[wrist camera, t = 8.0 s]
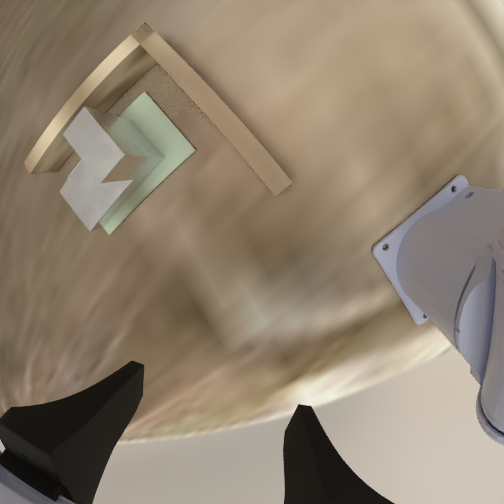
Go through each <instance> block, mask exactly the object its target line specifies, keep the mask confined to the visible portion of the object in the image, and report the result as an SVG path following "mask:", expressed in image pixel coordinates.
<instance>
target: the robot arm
mask: <svg viewBox="0 0 504 504" xmlns="http://www.w3.org/2000/svg"><path fill="white" fill-rule="evenodd" d="M452 186H453V187H454V191H453V192H452V191H451V187H452ZM384 244H387V248H386V249H384V250H383V248H382V247H383V245H384ZM372 253H373V255H374V257H375V258H376V260H377V261H378V263H379V264H380V266H381V267H382V269H383V270H384V272H385V274H386V275H387V277H388V278H389V280H390V282H391V283H392V285H393V286H394V288H395V290H396V291H397V293H398V294H399V296H400V298H401V299H402V301H403V303H404V304H405V306H406V308H407V310H408V311H409V313H410V315H411V316H412V318H413V320H414V322H415V323H416V324H417V325H421V324H423V323H424V322H426V321H427V320H428V319H430V320H431V321H432V323H433V324H434V325H435V326H436V327H437V328H438V329H439V330H440V331H441V332H442V334H443V335H444V336H445V337H446V338H447V339H448V340H449V341H450V343H451V344H452V345H453V346H454V347H455V348H456V349H457V351H458V352H459V353H460V354H461V355H462V356H463V357H464V359H465V360H466V361H467V362H468V363H469V364H470V367H471V370H470V373H471V374H472V375H473V377H474V378H475V379H476V380H477V382H478V383H479V384H480V385H481V386H480V389H479V392H478V396H477V401H476V413H477V418H478V420H479V423H480V425H481V427H482V428H483V430H484V431H485V432H486V434H487V435H488V436H489V437H491V438H492V439H493V440H495V441H496V442H498V443H500V444H502V445H504V190H499V189H493V188H486V187H479V186H472V185H469V184H468V182H467V180H466V178H465V177H464V176H463V175H457V176H456V177H455V178H454V179H453V180H452V181H450V182H449V183H448V184H447V185H446V186H445V187H444V188H443V189H441V190H440V191H439V192H438V193H437V194H436V195H435V196H433V197H432V198H431V199H430V200H429V201H428V202H427V203H425V204H424V205H423V206H422V207H421V208H420V209H418V210H417V211H416V212H415V213H414V214H412V215H411V216H410V217H409V218H408V219H406V220H405V221H404V222H403V223H402V224H400V225H399V226H398V227H397V228H395V229H394V230H393V231H392V232H391V233H389V234H388V235H387V236H386V237H384V238H383V239H382V240H381V241H379V242H378V243H377V244H376V245H375V246H374V247H373V249H372ZM424 314H425V316H424V317H423V315H424ZM143 379H144V365H143V364H140V363H137V362H135V361H131V362H129V363H128V364H126V365H125V366H123V367H122V368H120V369H119V370H117V371H116V372H114V373H113V374H111V375H110V376H108V377H106V378H105V379H103V380H102V381H100V382H98V383H96V384H95V385H93V386H91V387H89V388H87V389H85V390H83V391H81V392H79V393H76V394H74V395H71V396H69V397H66V398H63V399H60V400H56V401H53V402H49V403H44V404H39V405H33V406H23V407H11V408H10V409H9V410H7V411H6V412H5V414H4V415H3V416H2V417H1V418H0V439H1V441H2V443H3V445H4V447H5V450H4V452H3V453H2V452H1V451H0V504H92V503H93V499H94V496H95V493H96V490H97V488H98V485H99V482H100V480H101V477H102V474H103V472H104V469H105V467H106V465H107V462H108V460H109V458H110V455H111V453H112V451H113V449H114V447H115V445H116V443H117V442H118V440H119V438H120V437H121V435H122V434H123V432H124V430H125V429H126V427H127V425H128V424H129V422H130V420H131V419H132V417H133V415H134V414H135V412H136V410H137V408H138V405H139V403H140V401H141V398H142V396H143ZM283 457H284V477H285V498H284V504H394V503H392V502H391V501H389V500H388V499H386V498H385V497H383V496H381V495H380V494H378V493H377V492H376V491H375V490H373V489H372V488H371V487H369V486H368V485H367V484H366V483H365V482H364V481H363V480H361V479H360V478H359V477H358V476H357V475H356V474H355V473H354V472H353V471H352V470H351V468H350V467H349V466H348V465H347V464H346V463H345V461H343V459H342V458H341V456H340V455H339V454H338V452H337V451H336V449H335V448H334V446H333V445H332V443H331V441H330V440H329V438H328V436H327V435H326V433H325V431H324V430H323V428H322V426H321V424H320V422H319V420H318V418H317V416H316V414H315V413H314V411H313V409H312V407H311V406H306V405H300V404H298V406H297V408H296V410H295V412H294V414H293V416H292V418H291V420H290V422H289V424H288V427H287V428H286V430H285V435H284V447H283Z"/></svg>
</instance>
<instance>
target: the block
mask: <svg viewBox="0 0 504 504" xmlns="http://www.w3.org/2000/svg"><path fill="white" fill-rule="evenodd" d="M63 135H64V136H65V138H66V139H67V140H68V142H69V143H70V145H71V146H72V147H73V148H74V150H75V151H76V152H77V154H78V155H79V156H80V158H81V159H82V161H81V162H80V163H79V165H78V166H77V167H76V169H75V170H74V171H73V173H72V174H71V176H70V177H69V178H68V180H67V181H66V183H65V184H64V186H63V187H62V189H61V190H60V193H61V194H62V195H63V197H64V198H65V200H66V201H67V202H68V204H69V205H70V206H71V208H72V209H73V210H74V212H75V213H76V214H77V216H78V217H79V218H80V219H81V221H82V222H83V223H84V225H85V226H86V227H87V228H88V230H89V231H90V232H91V231H93V230H96V229H98V228H101V227H104V226H105V225H106V224H107V222H108V221H109V220H110V219H111V218H112V216H113V215H114V214H115V213H116V212H117V210H118V209H119V208H120V207H121V206H122V205H123V203H124V202H125V201H126V200H127V199H128V198H129V197H130V195H131V194H132V193H133V192H134V191H135V190H136V189H137V188H138V187H139V186H140V184H141V183H142V182H143V181H144V180H145V179H146V178H147V177H148V176H149V175H150V174H151V173H152V172H153V171H154V169H155V168H156V167H157V166H158V165H159V164H160V163H161V162H162V161H163V160H164V159H165V157H164V156H163V155H162V154H161V152H160V151H159V150H158V149H157V148H156V147H155V146H154V145H153V144H152V142H151V141H150V140H149V139H148V138H147V137H146V136H145V135H144V134H143V132H142V131H141V130H140V129H139V128H138V127H137V126H136V125H135V123H134V122H133V121H132V120H130V119H127V118H123V117H120V116H117V115H113V114H110V113H106V112H103V111H99V110H96V109H92V108H89V107H85V106H84V107H83V109H82V110H81V111H80V112H79V114H78V115H77V116H76V117H75V119H74V120H73V121H72V123H71V124H70V125H69V127H68V128H67V129H66V131H65V132H64V133H63Z"/></svg>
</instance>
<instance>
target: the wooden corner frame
mask: <svg viewBox="0 0 504 504" xmlns="http://www.w3.org/2000/svg"><path fill="white" fill-rule="evenodd" d="M157 62H158V63H159V64H160V65H161V67H162V68H163V69H164V70H165V71H166V72H167V73H168V74H169V75H170V76H171V77H172V78H173V79H174V80H175V81H176V82H177V84H178V85H179V86H180V87H181V88H182V89H183V90H184V91H185V92H186V93H187V94H188V95H189V97H190V98H191V99H192V100H193V101H194V102H195V103H196V104H197V105H198V106H199V108H200V109H201V110H202V111H203V112H204V113H205V114H206V115H207V116H208V118H209V119H210V120H211V121H212V122H213V123H214V124H215V125H216V127H217V128H218V129H219V130H220V131H221V132H222V133H223V135H224V136H225V137H226V138H227V139H228V140H229V142H230V143H231V144H232V145H233V146H234V147H235V149H236V150H237V151H238V152H239V153H240V154H241V156H242V157H243V158H244V159H245V160H246V161H247V163H248V164H249V165H250V166H251V167H252V169H253V170H254V171H255V172H256V173H257V175H258V176H259V177H260V178H261V179H262V181H263V182H264V183H265V184H266V186H267V187H268V188H269V189H270V190H271V192H272V193H273V194H274V195H275V196H277V195H278V194H279V193H280V192H282V191H283V190H284V189H285V188H287V187H288V186H289V185H291V184H292V183H293V182H292V181H291V180H290V179H289V177H288V176H287V175H286V174H285V172H284V171H283V170H282V169H281V168H280V166H279V165H278V164H277V163H276V162H275V160H274V159H273V158H272V157H271V155H270V154H269V153H268V152H267V151H266V150H265V148H264V147H263V146H262V145H261V144H260V142H259V141H258V140H257V139H256V138H255V137H254V135H253V134H252V133H251V132H250V131H249V130H248V129H247V127H246V126H245V125H244V124H243V123H242V122H241V121H240V119H239V118H238V117H237V116H236V115H235V114H234V113H233V112H232V111H231V109H230V108H229V107H228V106H227V105H226V104H225V103H224V102H223V101H222V100H221V98H220V97H219V96H218V95H217V94H216V93H215V92H214V91H213V90H212V89H211V88H210V87H209V86H208V85H207V83H206V82H205V81H204V80H203V79H202V78H201V77H200V76H199V75H198V74H197V73H196V72H195V71H194V70H193V69H192V68H191V67H190V66H189V65H188V64H187V63H186V62H185V61H184V60H183V59H182V58H181V57H180V56H179V55H178V54H177V53H176V52H175V51H174V50H173V49H172V48H171V47H170V46H169V45H168V44H167V43H166V42H165V41H164V40H163V39H162V38H161V37H160V36H159V35H158V34H157V33H156V32H154V31H153V30H152V29H151V28H150V27H149V26H148V25H147V24H146V23H144V24H143V25H141V26H140V27H139V28H138V29H137V30H136V31H134V32H133V33H132V34H131V35H130V36H129V37H128V38H127V39H126V40H124V41H123V42H122V43H121V44H120V45H119V46H118V47H117V48H116V49H115V50H114V51H113V52H112V53H111V54H110V55H109V56H108V57H107V58H106V59H105V60H104V61H103V62H102V63H101V64H100V65H99V66H98V67H97V68H96V69H95V70H94V71H93V72H92V73H91V75H90V76H89V77H88V78H87V79H86V80H85V81H84V82H83V83H82V85H81V86H80V87H79V88H78V89H77V90H76V92H75V93H74V94H73V95H72V96H71V98H70V99H69V100H68V101H67V102H66V104H65V105H64V106H63V107H62V109H61V110H60V111H59V113H58V114H57V115H56V117H55V118H54V119H53V121H52V122H51V123H50V125H49V126H48V127H47V129H46V130H45V132H44V133H43V134H42V136H41V137H40V139H39V140H38V142H37V143H36V145H35V146H34V148H33V149H32V151H31V152H30V154H29V155H28V157H27V159H26V160H25V162H24V164H25V166H26V167H27V169H28V171H29V173H30V174H35V173H46V172H58V171H59V170H60V168H61V167H62V166H63V164H64V163H65V162H66V160H67V159H68V158H69V156H70V155H71V154H72V153H73V151H74V148H73V147H72V146H71V145H70V143H69V142H68V140H67V139H66V138H65V136H64V135H63V133H64V132H65V131H66V129H67V128H68V127H69V125H70V124H71V123H72V121H73V120H74V119H75V117H76V116H77V115H78V114H79V112H80V111H81V110H82V109H83V107H84V106H85V107H89V108H92V109H96V110H99V111H103V112H107V111H108V110H109V109H110V108H111V107H112V106H113V105H114V104H115V103H116V102H117V101H118V100H119V99H120V98H121V97H122V95H123V94H124V93H125V92H126V91H127V90H128V89H129V88H130V87H132V86H133V85H134V84H135V83H136V82H137V81H138V80H139V79H140V78H141V77H142V76H143V75H144V74H145V73H146V72H147V71H148V70H150V69H151V68H152V67H153V66H154V65H155V64H156V63H157ZM120 117H123V118H127V119H130V120H132V121H133V122H134V123H135V125H136V126H137V127H138V128H139V129H140V130H141V131H142V132H143V134H144V135H145V136H146V137H147V138H148V139H149V140H150V141H151V142H152V144H153V145H154V146H155V147H156V148H157V149H158V150H159V151H160V152H161V154H162V155H163V156H164V157H165V159H164V160H163V161H162V162H161V163H160V164H159V165H158V166H157V167H156V168H155V169H154V171H153V172H152V173H151V174H150V175H149V176H148V177H147V178H146V179H145V180H144V181H143V182H142V183H141V184H140V186H139V187H138V188H137V189H136V190H135V191H134V192H133V193H132V194H131V195H130V197H129V198H128V199H127V200H126V201H125V202H124V203H123V205H122V206H121V207H120V208H119V209H118V210H117V212H116V213H115V214H114V215H113V216H112V218H111V219H110V220H109V221H108V222H107V224H106V225H105V226H104V229H105V230H106V231H107V233H108V234H109V235H111V234H112V233H113V232H114V231H115V230H116V229H117V227H118V226H119V225H120V224H121V223H122V222H123V221H124V220H125V219H126V218H127V217H128V216H129V215H130V214H131V213H132V212H133V211H134V210H135V209H136V208H137V207H138V206H139V205H140V204H141V203H142V202H143V201H144V200H145V199H146V198H147V197H148V196H149V195H150V194H151V193H152V192H153V191H154V190H155V189H156V188H157V187H158V186H159V185H160V184H161V183H162V182H163V181H164V180H165V179H166V178H167V177H168V176H169V175H170V174H171V173H172V172H174V171H175V170H176V169H177V168H178V167H179V166H180V165H181V164H182V163H183V162H184V161H186V160H187V159H188V158H189V157H190V156H191V155H192V154H193V153H194V152H196V151H197V150H196V149H195V148H194V147H193V146H192V145H191V143H190V142H189V141H188V140H187V139H186V138H185V136H184V135H183V134H182V133H181V132H180V131H179V129H178V128H177V127H176V126H175V125H174V124H173V122H172V121H171V120H170V119H169V118H168V117H167V116H166V114H165V113H164V112H163V111H162V110H161V109H160V107H159V106H158V105H157V104H156V103H155V102H154V101H153V99H152V98H151V97H150V96H149V95H148V94H147V93H146V92H145V91H144V92H143V93H142V94H141V95H140V96H139V97H138V98H137V99H136V100H135V101H134V102H133V103H132V104H131V105H130V106H129V107H128V108H127V109H126V110H125V111H124V112H123V113H122V114H121V115H120ZM81 161H82V160H81ZM81 161H80V162H81ZM80 162H79V163H80ZM79 163H78V165H79ZM78 165H77V166H78ZM77 166H76V167H77ZM76 167H75V168H74V170H75V169H76ZM74 170H73V171H74ZM73 171H72V172H71V174H72V173H73ZM71 174H70V175H69V176H68V178H69V177H70V176H71Z"/></svg>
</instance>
